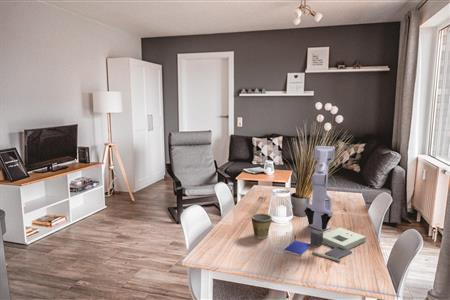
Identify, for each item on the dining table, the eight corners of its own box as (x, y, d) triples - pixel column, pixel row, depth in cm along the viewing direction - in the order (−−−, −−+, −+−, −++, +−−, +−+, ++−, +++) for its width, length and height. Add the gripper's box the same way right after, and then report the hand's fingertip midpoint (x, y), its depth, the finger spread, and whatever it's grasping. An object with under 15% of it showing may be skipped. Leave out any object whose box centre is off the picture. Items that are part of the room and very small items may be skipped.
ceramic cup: (270, 241, 155) (271, 221, 153) (249, 239, 157) (250, 219, 155) (272, 230, 167) (272, 212, 166) (253, 229, 169) (253, 211, 168)
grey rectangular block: (310, 243, 152) (310, 231, 152) (315, 241, 155) (316, 229, 154) (317, 246, 149) (317, 234, 148) (322, 244, 152) (323, 232, 151)
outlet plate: (318, 240, 156) (318, 235, 156) (340, 232, 167) (340, 227, 166) (343, 251, 145) (344, 245, 145) (365, 241, 155) (365, 236, 155)
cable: (311, 253, 142) (312, 251, 142) (313, 252, 143) (313, 250, 143) (339, 262, 135) (339, 260, 134) (340, 261, 136) (340, 259, 135)
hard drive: (294, 239, 154) (283, 249, 144) (311, 244, 150) (300, 254, 140) (294, 242, 155) (283, 252, 145) (311, 247, 150) (300, 257, 140)
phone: (325, 254, 142) (325, 252, 142) (339, 247, 148) (340, 245, 148) (336, 259, 137) (337, 257, 137) (351, 252, 143) (351, 250, 143)
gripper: (300, 196, 152) (299, 223, 154) (326, 204, 141) (324, 233, 143) (310, 194, 156) (309, 220, 158) (336, 201, 145) (334, 230, 147)
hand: (317, 226), depth 151 cm, fingers open, 7 cm apart
